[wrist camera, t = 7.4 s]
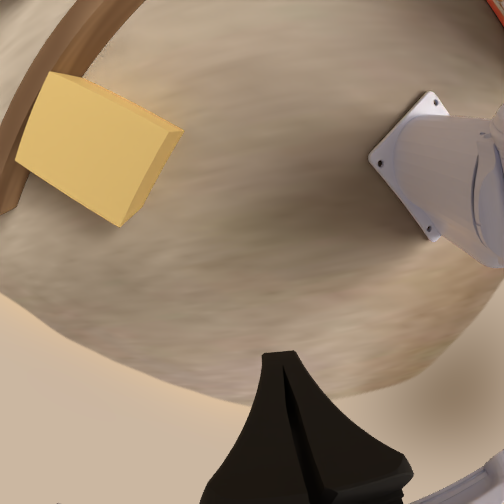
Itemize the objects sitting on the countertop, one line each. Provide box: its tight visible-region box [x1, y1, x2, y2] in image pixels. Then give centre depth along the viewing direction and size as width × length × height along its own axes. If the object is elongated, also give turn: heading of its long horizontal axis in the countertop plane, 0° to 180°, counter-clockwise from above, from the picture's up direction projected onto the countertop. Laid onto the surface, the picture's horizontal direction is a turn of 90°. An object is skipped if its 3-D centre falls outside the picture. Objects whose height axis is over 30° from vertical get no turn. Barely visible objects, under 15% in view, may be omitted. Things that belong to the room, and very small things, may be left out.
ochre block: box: [15, 71, 184, 228], centre depth 15 cm, size 9×6×4 cm, turn 57°
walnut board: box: [0, 0, 145, 215], centre depth 13 cm, size 2×24×4 cm, turn 139°
